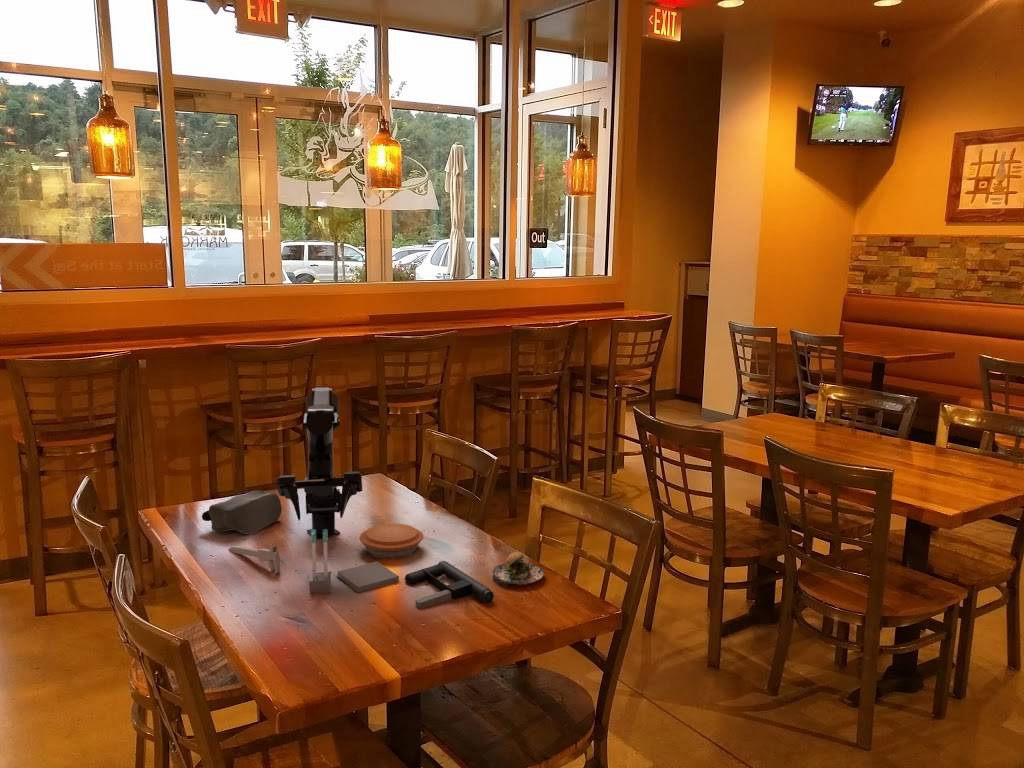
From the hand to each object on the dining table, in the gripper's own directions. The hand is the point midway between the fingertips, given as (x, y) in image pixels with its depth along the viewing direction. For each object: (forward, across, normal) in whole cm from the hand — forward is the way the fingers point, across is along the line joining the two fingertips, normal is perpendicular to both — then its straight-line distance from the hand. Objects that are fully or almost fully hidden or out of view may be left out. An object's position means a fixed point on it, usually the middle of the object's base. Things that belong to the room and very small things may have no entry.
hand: (320, 518), depth 182 cm
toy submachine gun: (+19, -26, -1) cm, 32 cm away
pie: (+2, -16, -19) cm, 25 cm away
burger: (+16, -44, -5) cm, 47 cm away
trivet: (+12, -10, -6) cm, 17 cm away
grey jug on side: (-13, +23, -33) cm, 42 cm away
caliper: (+4, +16, -16) cm, 23 cm away
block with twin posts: (+15, 0, -3) cm, 16 cm away
